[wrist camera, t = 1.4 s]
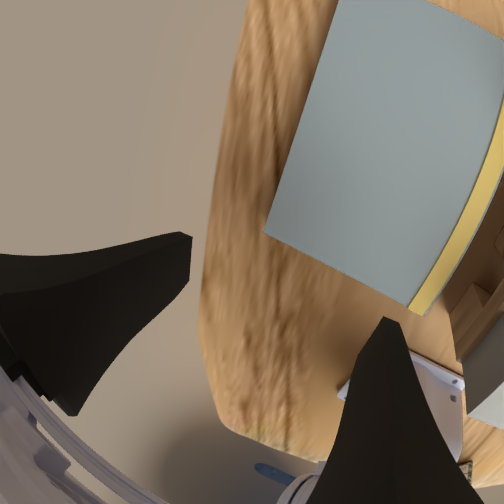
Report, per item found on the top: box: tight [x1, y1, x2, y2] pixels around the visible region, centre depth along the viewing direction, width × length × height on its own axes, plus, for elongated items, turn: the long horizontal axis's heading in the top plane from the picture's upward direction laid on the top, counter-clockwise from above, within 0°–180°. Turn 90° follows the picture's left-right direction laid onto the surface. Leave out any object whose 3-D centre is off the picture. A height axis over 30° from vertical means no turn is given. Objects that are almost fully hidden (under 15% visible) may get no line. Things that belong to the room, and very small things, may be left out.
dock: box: [263, 0, 504, 316], centre depth 14 cm, size 12×18×2 cm, turn 163°
